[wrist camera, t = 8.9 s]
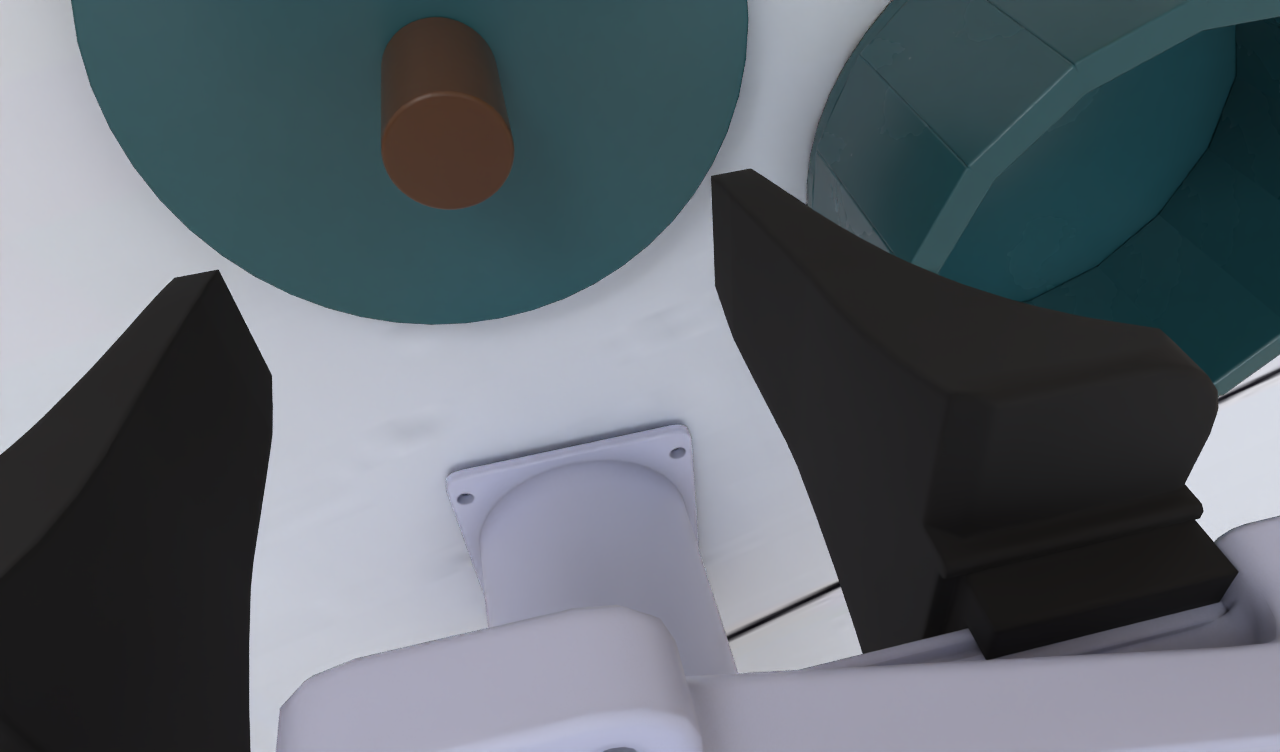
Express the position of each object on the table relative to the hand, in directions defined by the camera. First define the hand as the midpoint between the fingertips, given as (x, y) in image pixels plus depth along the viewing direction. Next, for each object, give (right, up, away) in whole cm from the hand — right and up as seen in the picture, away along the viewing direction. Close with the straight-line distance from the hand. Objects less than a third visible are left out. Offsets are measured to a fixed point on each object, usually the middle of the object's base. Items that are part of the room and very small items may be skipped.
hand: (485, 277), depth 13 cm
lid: (-2, +5, +6) cm, 8 cm away
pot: (+13, +5, +11) cm, 18 cm away
